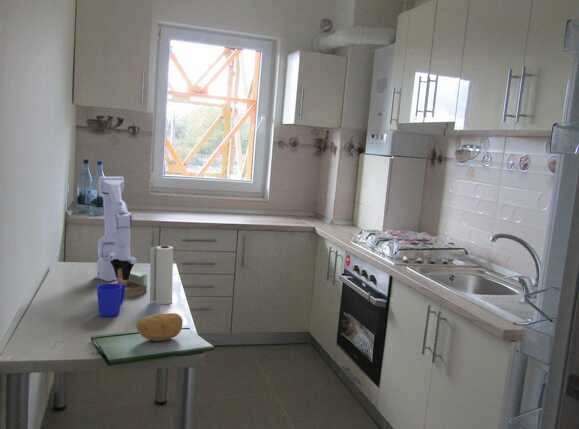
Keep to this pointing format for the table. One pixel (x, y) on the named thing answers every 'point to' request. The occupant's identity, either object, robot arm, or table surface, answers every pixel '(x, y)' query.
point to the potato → (160, 326)
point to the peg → (121, 278)
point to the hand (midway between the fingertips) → (122, 278)
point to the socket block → (133, 289)
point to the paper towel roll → (161, 274)
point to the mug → (110, 299)
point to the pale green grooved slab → (138, 278)
